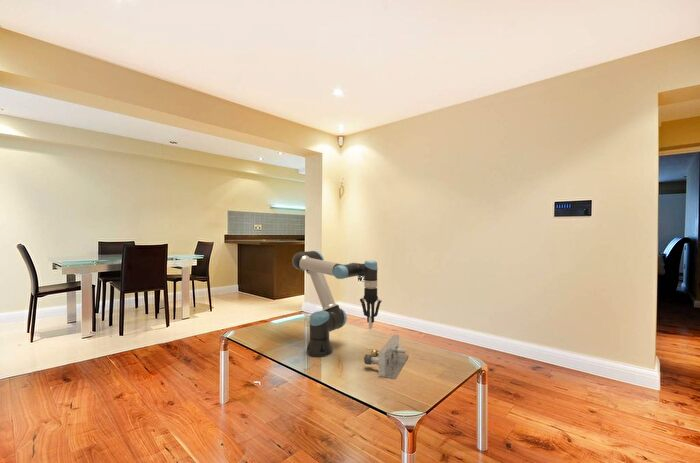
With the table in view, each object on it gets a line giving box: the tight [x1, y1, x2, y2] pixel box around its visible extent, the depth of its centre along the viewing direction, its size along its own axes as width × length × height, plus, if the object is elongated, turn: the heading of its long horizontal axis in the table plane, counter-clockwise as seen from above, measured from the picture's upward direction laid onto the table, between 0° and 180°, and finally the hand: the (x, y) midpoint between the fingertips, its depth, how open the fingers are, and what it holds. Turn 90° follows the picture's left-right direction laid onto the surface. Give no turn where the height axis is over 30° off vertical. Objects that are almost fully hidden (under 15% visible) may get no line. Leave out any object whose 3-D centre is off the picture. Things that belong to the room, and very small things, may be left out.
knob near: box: [363, 353, 379, 366], centre depth 164 cm, size 11×5×5 cm, turn 67°
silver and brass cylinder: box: [370, 348, 380, 358], centre depth 172 cm, size 11×4×4 cm, turn 67°
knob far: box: [396, 347, 407, 355], centre depth 178 cm, size 11×5×5 cm, turn 67°
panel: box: [378, 333, 409, 380], centre depth 169 cm, size 8×30×12 cm, turn 157°
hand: (370, 328), depth 182 cm, fingers closed
